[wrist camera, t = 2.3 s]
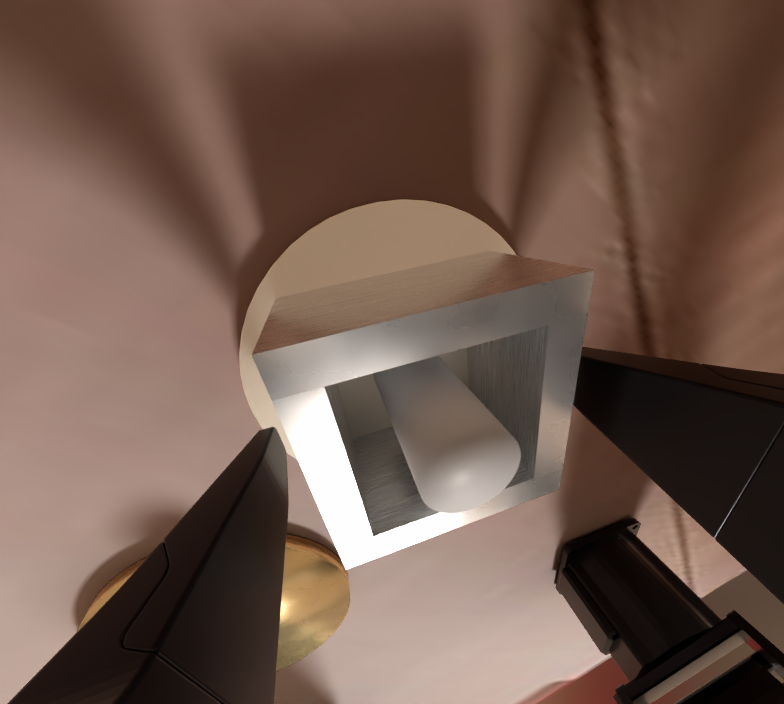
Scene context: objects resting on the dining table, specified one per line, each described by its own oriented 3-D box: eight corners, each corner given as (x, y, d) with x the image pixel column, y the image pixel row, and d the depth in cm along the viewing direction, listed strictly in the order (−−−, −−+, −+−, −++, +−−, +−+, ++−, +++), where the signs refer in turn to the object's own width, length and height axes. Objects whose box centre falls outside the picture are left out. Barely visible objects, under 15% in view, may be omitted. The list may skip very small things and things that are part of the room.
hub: (315, 498, 13) (318, 683, 8) (367, 617, 19) (389, 773, 13) (15, 598, 11) (-236, 922, 6) (169, 697, 17) (105, 914, 12)
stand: (530, 174, 10) (777, 126, 5) (517, 424, 15) (627, 534, 10) (180, 237, 8) (-48, 273, 3) (301, 495, 13) (295, 674, 8)
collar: (490, 250, 10) (594, 270, 6) (490, 414, 13) (559, 489, 9) (275, 298, 8) (251, 354, 5) (335, 463, 12) (345, 569, 8)
